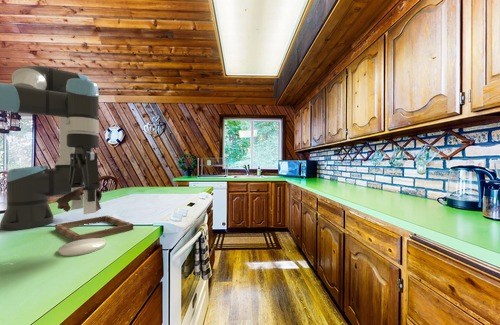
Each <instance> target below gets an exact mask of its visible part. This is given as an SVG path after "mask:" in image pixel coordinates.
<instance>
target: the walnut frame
mask: <svg viewBox="0 0 500 325" xmlns="http://www.w3.org/2000/svg"><path fill="white" fill-rule="evenodd" d="M101 221H103V222H106V221H107V223H109V222H110V223H109V224H112V223H113V225H115V227H109V228H104V229H101V230H96V231H91V232H87V233H83V234H79V233H78V232H75V231H74V230H72V229H71V228H76V227H80V226H79V225H83V226H85V225H84V224H88V225H90V224H89V223H93V224H97V223H96V222H98V223H102V222H101ZM54 228H55V231H57V232H58V233H60V234H61V235H63V236H64V237H66V238H68V239H70V240H71V241H72V242H73V241H78V240H82V239H90V238H102V237H108V236H111V235H117V234H120V233H125V232H129V231H133V230H134V223H132V222H129V221H125V220H122V219H119V218H116V217H113V216H109V215H101V216H95V217H91V218H86V219H85V218H83V219H80V220H75V221H73V220H72V221H68V222H62V223H58V224H57V223H56V224H55V227H54Z"/></svg>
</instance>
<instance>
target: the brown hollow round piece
mask: <svg viewBox="0 0 500 325" xmlns="http://www.w3.org/2000/svg"><path fill="white" fill-rule="evenodd" d="M83 188H84V187H81V188H78V189H76V190H74V191H72V192H70V193H68V194H66V195H64V196H60V197H59V198H57V199H56V201H55V202H56V203H57V209H58V210H59V209H60V210H63V211H65V212H66V213H67V212H69V211H70V210H72V209H71V206H70V203H69V202H71V200H81V198H80V195H82V194H83V195H84V191H83V190H82V189H83ZM102 196H103V194H102V192H101V190H100V189H98V188H97V189H96V212H98V211H99V210H102V206H101V204H100V201H101V200H102Z"/></svg>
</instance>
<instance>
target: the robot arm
mask: <svg viewBox="0 0 500 325" xmlns="http://www.w3.org/2000/svg"><path fill="white" fill-rule="evenodd" d="M99 93H100V92H99V86H98V84H97V83H95V82H94V81H92V80H90V78H89V77H88V76H87V75H85V74H81V73H79V72H78V73H77V72H72V71H68V70H62V69H58V68H53V67H49V66H45V65H28V66H22V67H19V68H17V69H16V70H14V71H13V72H12V74H11V83H4V82H0V111H3V112H4V111H5V112H11V113H14V114H15V113H16V114H17V113H19V114H20V113H21V114H28V115H29V114H30V115H31V114H32V115H40V116H48V117H49V116H50V117H59V160H58V161H57V162H56V163H55V164H54V168H49V166H48V165H35V166H28V167H17V168H12V169H10V170H8V172H7V175H6V181H5V183H6V208H5V211H4V213H3V216H2V218H1V220H0V230H3V231H16V230H18V231H19V230H26V229H27V230H28V229H32V228H33V229H34V228H37V227H42V226H46V225H49V224H52V223H53V222H55V221H54V219H55V218H54V217H55V216H54V214H53V212H52V210H51V208H50V205H49V197H63V196H64V195H66V194H68V193H70V192H72V191H74V190H76V189H78V188H81V187H84V188H83V189H82V190H83V191H84V194H82V195H80V198H81V200H71V201H70V202H71V206H70V207H71V209H70V210H81V209H83V215H88V214H94V213H97V211H96V189H98V188H100V186H101V184H100V175H99V174H100V172H99V165H98V164H99V163H98V152H93V149H96V148H97V149H98V148H99V146H100V144H99V143H100V142H99V139H100V138H99V136H98V134H99V133H100V121H99V103H100V102H99V99H100V98H99V97H100V94H99Z"/></svg>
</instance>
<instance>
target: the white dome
mask: <svg viewBox="0 0 500 325" xmlns="http://www.w3.org/2000/svg"><path fill="white" fill-rule="evenodd" d="M106 245H107V243H106V239H105V238H102V237H100V238H90V239H82V240H78V241H73V240H72V241H71V242H68V243H65V244H62V245H61V246H59V248H58V255H61V256H63V257H65V256H66V257H75V256H81V255H86V254H91V253H94V252H96V251H99V250H102V249H103V248H104V247H106Z"/></svg>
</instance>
